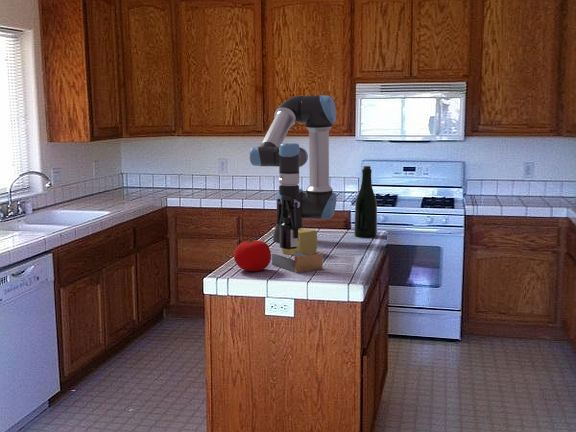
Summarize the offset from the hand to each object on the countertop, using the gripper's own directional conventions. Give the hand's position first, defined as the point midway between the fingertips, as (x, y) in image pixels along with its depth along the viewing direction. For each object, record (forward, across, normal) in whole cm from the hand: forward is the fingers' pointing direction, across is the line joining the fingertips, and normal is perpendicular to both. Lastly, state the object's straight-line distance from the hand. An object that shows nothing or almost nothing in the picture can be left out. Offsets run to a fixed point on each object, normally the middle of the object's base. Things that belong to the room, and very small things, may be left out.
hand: (288, 244), depth 260 cm
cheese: (+8, -15, +15) cm, 23 cm away
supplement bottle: (+1, 0, 0) cm, 1 cm away
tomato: (+8, +2, -17) cm, 19 cm away
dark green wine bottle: (+7, -33, +64) cm, 72 cm away
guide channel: (+8, +5, 0) cm, 9 cm away
